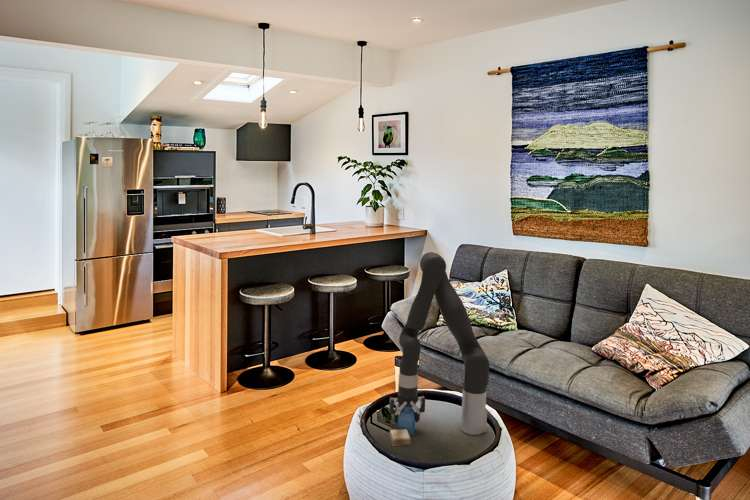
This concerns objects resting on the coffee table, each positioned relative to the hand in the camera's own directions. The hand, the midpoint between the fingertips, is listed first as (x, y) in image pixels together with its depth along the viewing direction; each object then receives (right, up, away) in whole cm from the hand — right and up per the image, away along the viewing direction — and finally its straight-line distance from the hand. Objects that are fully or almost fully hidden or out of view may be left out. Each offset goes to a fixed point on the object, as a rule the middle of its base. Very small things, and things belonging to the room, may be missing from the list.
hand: (406, 422), depth 215 cm
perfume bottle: (0, -4, +1) cm, 4 cm away
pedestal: (-3, -5, -7) cm, 9 cm away
